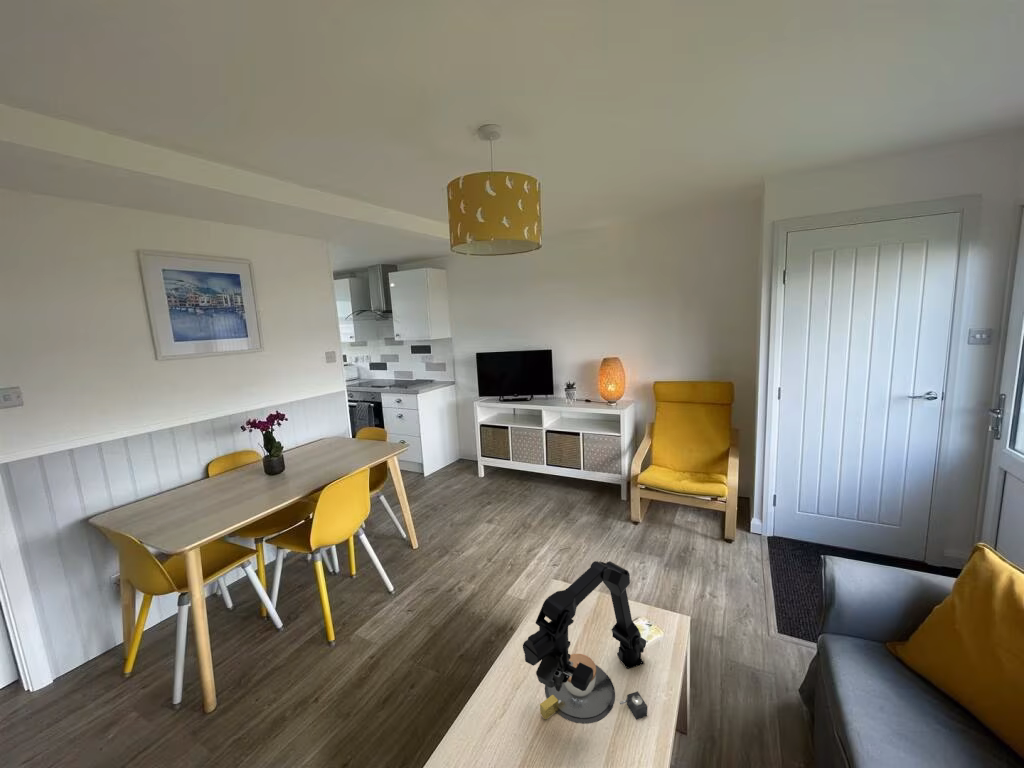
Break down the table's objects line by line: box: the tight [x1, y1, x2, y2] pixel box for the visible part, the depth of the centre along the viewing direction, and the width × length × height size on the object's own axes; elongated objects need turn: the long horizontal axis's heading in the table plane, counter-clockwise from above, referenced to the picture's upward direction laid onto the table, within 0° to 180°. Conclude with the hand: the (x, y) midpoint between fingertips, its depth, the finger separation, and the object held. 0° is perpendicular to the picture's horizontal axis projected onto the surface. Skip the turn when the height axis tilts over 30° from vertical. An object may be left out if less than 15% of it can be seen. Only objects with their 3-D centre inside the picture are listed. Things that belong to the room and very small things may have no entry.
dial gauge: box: [619, 691, 648, 721], centre depth 125 cm, size 6×5×4 cm
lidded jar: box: [564, 653, 597, 697], centre depth 132 cm, size 11×11×9 cm
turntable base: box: [544, 674, 616, 724], centre depth 133 cm, size 22×22×1 cm
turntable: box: [539, 664, 612, 721], centre depth 131 cm, size 25×20×3 cm
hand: (558, 690), depth 120 cm, fingers closed
